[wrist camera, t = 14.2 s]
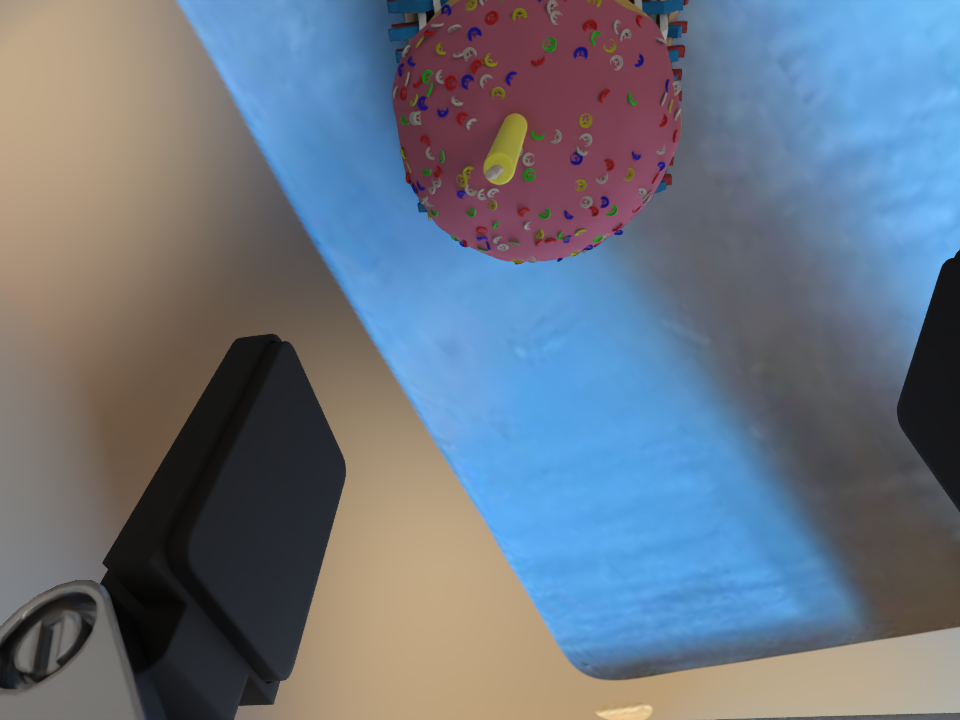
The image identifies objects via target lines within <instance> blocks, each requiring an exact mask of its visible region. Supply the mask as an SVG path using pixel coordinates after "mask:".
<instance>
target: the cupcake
mask: <svg viewBox="0 0 960 720" xmlns="http://www.w3.org/2000/svg"><path fill="white" fill-rule="evenodd" d="M666 43H667V41H665V40H664V37H663V35H662V32H661V31H660V29H659V27H658V26H657V24H656V23H655V22H654V21H653V20H652V19H651V18H650V17H649V16H648V15H647V14H646V13H645V12H643V11H642V10H641V9H639V8H638V7H637V6H635V5H634V4H632V3H631V2H630V1H628V0H449V1H448V2H446V3H445V4H444V5H443V6H442V7H441V8H440V9H439V10H438V11H437V12H436V13H435V15H434V16H433V17H432V18H431V20H430V21H429V23H428V24H427V25H426V26H424V27H423V28H422V29H421V30H420V31H419V32H418V33H417V34H416V35H415V36H414V37H413V38H412V39H411V41H410V42H409V44H408V45H407V46H406V47H405V49H404V51H403V53H402V58H401V60H400V63H399V66H398V69H397V72H396V75H395V79H394V84H393V94H392V98H393V106H394V111H395V115H396V121H397V126H398V132H399V140H400V146H401V148H400V151H401V154H402V158H403V163H404V168H405V172H406V182H407V183H408V184H410V185H411V187H412V188H413V191H414V192H415V193H416V195H417V196H418V198H419V199H420V203H421V204H423V205H424V206H425V208H426V209H427V211H428V217H429V220H431V217H432V219H433V220H434V222H435V223H436V224H437V225H438V226H439V227H440V228H441V229H442V230H444V231H445V232H447V233H448V234H450V235H451V238H452V239H453V240H455V241H460V242H459V243H460V245H461V246H463V247H468V246H470V247H472V248H474V249H476V250H478V251H480V252H483V253H485V254H487V255H489V256H492V257H495V258H497V259H500V260H504V261H511V262H514V263H515V264H521V263H523V262H530V263H535V262H536V261H547V260H555V259H558V260H557V261H558V262H559V261H561V260H562V259H563V258H565V257H568V256H572V257H573V256H576V255H578V254H579V253H580V252H581V251H582V253H585V252H586V251H587V250H591V249H592V248H593V247H596V246H597V245H599V244H600V243H601V242H602V241H603V240H605V239H607V238H608V237H610V236H611V235H613V234H615V235H621V234H623V231H622V230H620V229H621V228H622V227H623V226H625V225H626V224H627V223H628V222H629V221H630V220H631V219H632V218H634V217H635V216H636V215H637V214H638V213H639V212H640V211H641V210H642V209H643V207H644V206H645V205H646V204H647V203H648V201H649V200H650V199H651V197H652V196H653V194H654V193H655V191H656V189H657V188H658V186H659V184H660V182H661V180H662V178H663V176H664V174H665V172H666V170H667V167H668V165H669V163H670V161H671V159H672V157H673V155H674V153H675V151H676V149H677V146H678V143H679V140H680V135H681V128H682V119H681V110H682V108H680V103H679V96H678V93H679V92H680V89H681V85H680V83H679V82H677V81H675V79H674V75H673V70H672V66H671V62H670V58H669V53H668V49H667V46H666ZM676 85H677V87H678V88H677V87H676ZM618 231H619V232H620V233H619V232H618ZM616 232H617V233H616ZM462 243H463V244H462Z"/></svg>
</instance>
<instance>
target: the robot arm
mask: <svg viewBox="0 0 960 720" xmlns="http://www.w3.org/2000/svg"><path fill="white" fill-rule="evenodd" d="M897 416H898V421H899V424H900V426H901V428H902V430H903V432H904V433H905V435H906V436H907V437H908V439H909V440H910V442H911V443H912V445H913V446H914V447H915V449H916V450H917V452H918V453H919V455H920V456H921V457H922V459H923V460H924V462H925V463H926V465H927V466H928V467H929V469H930V470H931V472H932V473H933V475H934V476H935V477H936V479H937V480H938V482H939V483H940V485H941V486H942V487H943V489H944V490H945V492H946V493H947V495H948V496H949V497H950V499H951V500H952V502H953V503H954V505H955V506H956V507H957V509H958V510H959V512H960V250H959V251H958V252H957V253H956V255H955V257H954V258H951V259H948V260H947V261H946V262H945V263H944V264H943V266H942V268H941V270H940V273H939V276H938V279H937V282H936V286H935V289H934V292H933V295H932V298H931V301H930V304H929V308H928V311H927V314H926V317H925V320H924V323H923V326H922V330H921V333H920V336H919V339H918V342H917V345H916V348H915V351H914V355H913V358H912V361H911V364H910V367H909V370H908V373H907V377H906V380H905V383H904V386H903V389H902V392H901V395H900V398H899V402H898V406H897ZM345 477H346V466H345V460H344V458H343V455H342V453H341V451H340V448H339V446H338V444H337V442H336V440H335V438H334V435H333V433H332V431H331V429H330V426H329V424H328V422H327V420H326V418H325V415H324V413H323V411H322V409H321V407H320V404H319V402H318V400H317V398H316V396H315V394H314V391H313V389H312V387H311V385H310V383H309V380H308V378H307V376H306V374H305V371H304V369H303V367H302V365H301V363H300V360H299V358H298V356H297V354H296V352H295V349H294V348H293V346H292V345H291V344H290V343H289V342H287V341H284V342H282V341H281V339H280V338H279V337H278V336H277V335H274V334H267V335H258V336H251V337H243V338H238V339H236V340H235V341H234V342H233V344H232V345H231V347H230V349H229V350H228V352H227V354H226V355H225V357H224V359H223V361H222V362H221V364H220V365H219V367H218V369H217V371H216V372H215V374H214V376H213V377H212V379H211V381H210V382H209V384H208V386H207V387H206V389H205V391H204V393H203V394H202V396H201V398H200V399H199V401H198V403H197V404H196V406H195V408H194V409H193V411H192V413H191V414H190V416H189V418H188V419H187V421H186V423H185V425H184V426H183V428H182V429H181V431H180V433H179V435H178V436H177V438H176V440H175V441H174V443H173V445H172V446H171V448H170V450H169V451H168V453H167V455H166V456H165V458H164V460H163V462H162V463H161V465H160V467H159V468H158V470H157V472H156V473H155V475H154V477H153V479H152V480H151V482H150V483H149V485H148V487H147V488H146V490H145V492H144V493H143V495H142V497H141V499H140V500H139V502H138V504H137V505H136V507H135V509H134V510H133V512H132V514H131V516H130V517H129V519H128V520H127V522H126V524H125V526H124V527H123V529H122V531H121V532H120V534H119V536H118V538H117V539H116V541H115V542H114V544H113V546H112V547H111V549H110V551H109V552H108V554H107V556H106V558H105V559H104V561H103V564H104V565H105V566H106V567H107V568H108V571H107V573H106V574H105V576H104V577H103V579H102V581H101V583H100V584H98V583H96V582H94V581H91V580H75V581H72V582H68V583H64V584H61V585H57V586H55V587H53V588H51V589H49V590H47V591H45V592H43V593H41V594H39V595H37V596H36V597H35V598H33V599H32V600H30V601H29V602H28V603H26V604H25V605H23V606H22V607H20V608H19V609H18V610H17V611H16V612H15V613H14V614H13V615H12V616H11V617H10V618H9V619H8V620H6V621H5V623H3V625H1V626H0V720H234V718H235V714H236V712H237V708H238V706H243V705H244V706H245V705H272V704H274V701H275V697H276V694H277V691H278V687H279V683H280V681H283V680H286V679H287V678H288V677H289V676H290V674H291V672H292V670H293V667H294V664H295V660H296V656H297V653H298V649H299V645H300V642H301V638H302V634H303V631H304V627H305V623H306V620H307V616H308V612H309V609H310V605H311V602H312V598H313V594H314V591H315V587H316V584H317V580H318V576H319V573H320V569H321V565H322V562H323V558H324V554H325V551H326V547H327V543H328V540H329V536H330V532H331V529H332V526H333V522H334V518H335V515H336V511H337V507H338V504H339V500H340V496H341V493H342V489H343V485H344V481H345ZM719 720H960V713H940V714H938V713H937V714H936V713H935V714H896V715H858V716H857V715H856V716H821V717H787V718H753V719H719Z"/></svg>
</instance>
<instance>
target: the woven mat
mask: <svg viewBox="0 0 960 720" xmlns="http://www.w3.org/2000/svg"><path fill="white" fill-rule="evenodd" d="M448 1H449V0H387V6H388V11H389V13H404V14H405V21H406V23H401V24H393V25H392V26H391V29H389V30H388V31H389V37H390V42H391V41H398V40H405V39H408V42H410V41H411V39H412V38H413V37H414V36H415V35H416V34H417V33H418V32H419V31H420V30H421V29H422V28H423V27H424V26H426V25H427V24H428V23H429V21H430V20H431V19H429V20H426V11H430V10H433V9H434V11H435V13H436V12H437V11H438V10H439V9H440V8H441V7H442V6H443V5H444V4H445V3H446V2H448ZM628 1H630V2H631V3H632V4H634V5H635V6H637V7H638V8H639V9H641V10H642V11H643V12H645V13H646V14H649V17H650V18H651V19H652V20H653V21H654V22H655V23H656V24H657V26H658V27H659V29H660V31H661V32H662V35H663V37H664V40H665V41H667V43H666V46H667V49H668V53H669V58H670V62H671V63H672V62H676V61H678V58H681V57H684V53H685V46H684V45H675V46H672V41H673V38H679V37H681V34H682V33H686V31H687V21H677V22H676V19H677V16H678V13H679V11H680V10H683V5H686V4H688V0H628ZM656 14H657V17H656ZM403 51H404V49H397V50H396V51H395V54H396V60H397V63H400V60H401V58H402V53H403ZM672 70H673V75H674V79H675V81H677V80H681V77H682V69H672ZM676 86H677V85H676ZM678 96H679V102H680V101H682V91H680V92H679V93H678ZM673 159H674V156H673V157H672V159H671V161H670V163H669V165H673ZM669 165H668V166H669ZM666 171H667V170H666ZM671 184H672V176H671V174H666V172H665V174H664V176H663V178H662V180H661V182H660V184H659V186H658V188H657V189H656V191H655V193H657V192H661V191H664V190H666V185H671ZM418 209H419V212H428V211H427V209H426V208H425V206H424V205H423V204H421V203H420V199H419V203H418Z"/></svg>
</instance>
